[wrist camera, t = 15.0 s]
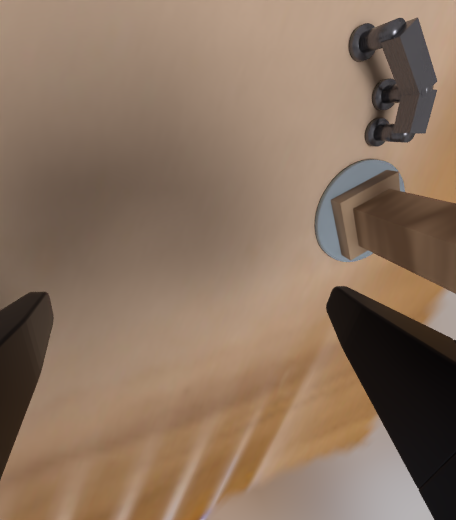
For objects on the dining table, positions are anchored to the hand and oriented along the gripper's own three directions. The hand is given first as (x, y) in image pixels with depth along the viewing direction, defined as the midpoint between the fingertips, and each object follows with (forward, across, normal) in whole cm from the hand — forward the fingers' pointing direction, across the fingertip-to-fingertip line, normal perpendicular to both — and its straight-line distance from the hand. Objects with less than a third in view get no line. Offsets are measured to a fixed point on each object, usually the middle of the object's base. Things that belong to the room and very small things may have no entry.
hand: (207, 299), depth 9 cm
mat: (+14, -16, +2) cm, 21 cm away
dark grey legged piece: (+14, -14, -8) cm, 21 cm away
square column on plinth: (+13, -16, +2) cm, 21 cm away
